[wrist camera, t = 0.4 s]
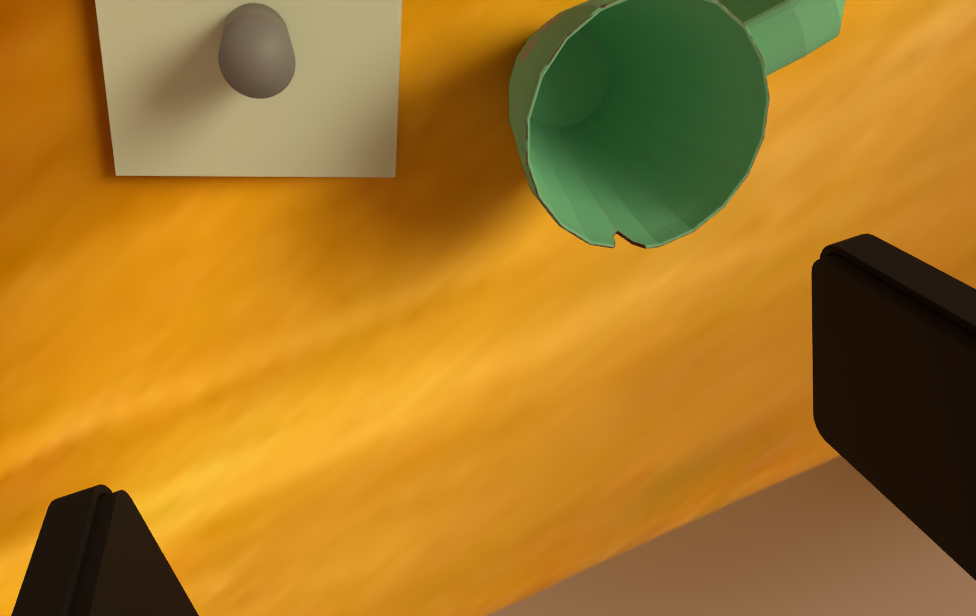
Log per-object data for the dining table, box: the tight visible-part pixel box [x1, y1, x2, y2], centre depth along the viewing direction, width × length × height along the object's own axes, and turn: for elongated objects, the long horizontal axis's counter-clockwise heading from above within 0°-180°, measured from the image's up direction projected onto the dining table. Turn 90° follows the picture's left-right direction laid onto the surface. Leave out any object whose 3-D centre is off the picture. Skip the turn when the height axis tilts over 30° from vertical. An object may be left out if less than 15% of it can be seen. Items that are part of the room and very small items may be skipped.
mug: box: [509, 0, 846, 249], centre depth 34 cm, size 15×10×10 cm
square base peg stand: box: [95, 0, 402, 178], centre depth 31 cm, size 12×12×7 cm
